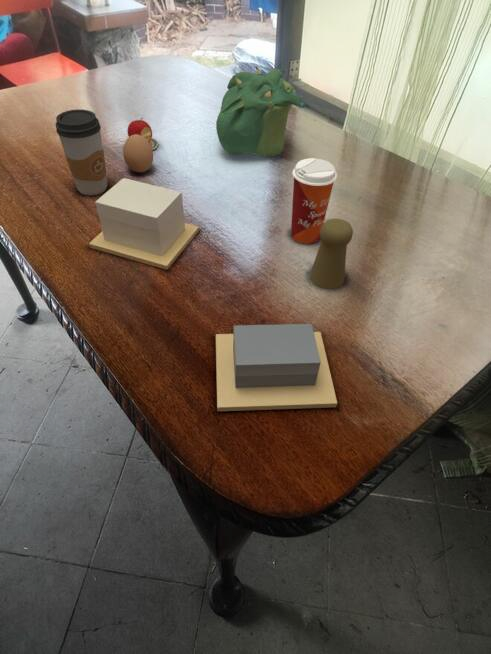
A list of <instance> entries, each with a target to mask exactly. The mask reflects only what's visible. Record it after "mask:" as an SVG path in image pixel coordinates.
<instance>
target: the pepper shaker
mask: <svg viewBox="0 0 491 654" xmlns="http://www.w3.org/2000/svg"><path fill="white" fill-rule="evenodd" d="M353 234H354V230H353V227H352V225H351V224H350V222H349V221H347V220H344V219H342V218H329V219H327V220H325V221H324V223H323V225H322V226H321V229H320V238H319V239H320V240H321V242H320V244H319V247H318V250H317V252H316V255H315V259H314V262H313V264H312V266H311V267H312V268H311V270H310V273H309V278H310V280H311V282H312V283H313V284H314V285H316V286H318V287H320V288H323V289H336V288H339V287H341V286H342V285H343V284H344V282H345V275H346V262H347V250H348V249H347V248H348V245H349V243H350V242H351V240H352V238H353Z"/></svg>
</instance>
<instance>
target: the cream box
mask: <svg viewBox="0 0 491 654" xmlns="http://www.w3.org/2000/svg"><path fill="white" fill-rule="evenodd" d="M184 212H185V211H184V206H183V207H182V208H181V209H180V210H179V211H178V213H177V214H176V215H175V216H174V217H173V218H172V219H171V220H170V221H169V222H168V223H167V225H166V226H165V227H164V228H163V229H162V230H161V231H160V232H159V233H157V232H154V231H150V230H146V229H142V228H139V227H135V226H131V225H128V224H124V223H120V222H116V221H113V220H109V219H105V218H102V217H99V216H98V218H99V219H98V220H99V223H100V228H101V232H100V233H98V234H97V235H96V236H95V237H94V238H93V239H92V240H91V241H90V242H89V243H88V246H89V248H90V249H93V250H97V251H100V252H103V253H107V254H111V255H114V256H117V257H121V258H125V259H128V260H131V261H133V262H134V261H135V262H138V263H142V264H145V265H148V266H152V267H155V268H159V269H162V270H166V271H168V270H169V269H170V268H171V266H172V265H173V264H174V263H175V262H176V261H177V259H178V258H179V256H180V255H181V254H182V253H183V251H185V249H186V248H187V247H188V245H189V244H190V243H191V241H192V240H193V239H194V238H195V237H196V236H197V234H198V233H199V231H200V226H199V225H195V224H190V223H187V222H185V213H184Z"/></svg>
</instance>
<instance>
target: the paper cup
mask: <svg viewBox="0 0 491 654" xmlns="http://www.w3.org/2000/svg"><path fill="white" fill-rule="evenodd" d="M292 177H293V190H292V207H291V208H292V209H291V228H290V229H291V230H290V234H291V238H292V239H293V240H294V241H296V242H298V243H299V244H300V243H301V244H304V245H305V244H306V245H309V244H314V243H316V242H318V241H319V239H321V238H320V229H321V226H322V225H323V224H324V222H325V219H326V215H327V212H328V207H329V203H330V199H331V195H332V191H333V187H334V183H335V181H336V180H337V178H338V175H337V172H336V168H335V166H334V165H333V164H332V163H331V162H329V160H325V159H321V158H314V157H309V158H304V159H301V160H299V161H298V162H297V163H296V164H295V167H294V168H293V170H292Z"/></svg>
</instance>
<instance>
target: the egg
mask: <svg viewBox="0 0 491 654" xmlns="http://www.w3.org/2000/svg"><path fill="white" fill-rule="evenodd" d="M153 151H154V150H152V148H151V146H150V144H149V143H148V141H147V140H146V139H145V138H144V137H143V136H141V135H138V134H134V135H131V136H130V137H129V136H128V137H127V139H126V140H125V142H124V145H123V148H122V155H123V160H124V162H125V164H126V166H127V168H129V169H130V170H131V171H133V172H135V173H139V174H140V173H145V172H146V171H148V170H149V169H150V168H151V167H152V165H153V162H154V153H153Z"/></svg>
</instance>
